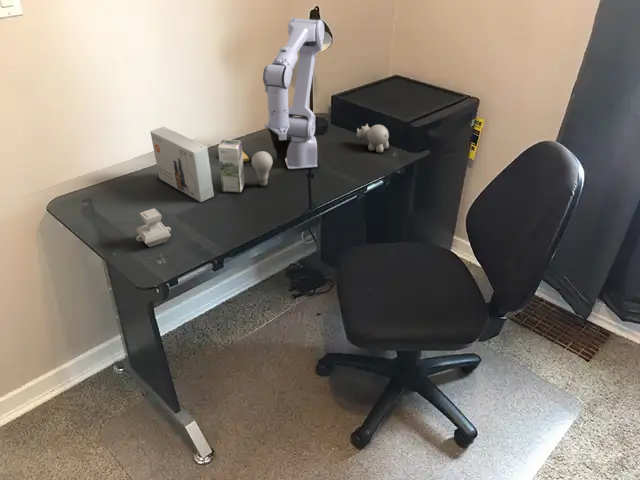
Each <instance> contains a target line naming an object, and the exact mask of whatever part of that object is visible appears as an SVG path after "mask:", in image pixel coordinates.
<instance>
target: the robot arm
mask: <svg viewBox="0 0 640 480" xmlns="http://www.w3.org/2000/svg"><path fill="white" fill-rule="evenodd" d="M287 35H288V39H287V41H286V44H285V46H282V47H280V48H279V49H278V51H277V53H276V55H275V57H274V59H273V60H272V62H271V63H270V64H267V65H266V66H265V67H264V69H263V73H262V83H263V85H264V91H265V93H266V95H267V96H266V97H267V119H268V120H267V121H268V122H265V123H264V125H263V126H264V128H265V129H267V130H268V132H269V134H270V139H271V142H272V146H273V150H275V153H276V157H277V160H278V161H284V162H285V165H286V167H287V169H288V170H299V169H300V170H301V169H310V168H318V144H317V143H318V142H317V138H316V136H315V132H316V114H315V113H314V112H313V111H312V110H311V109H310V108H309V103H310V96H311V89H312V84H313V83H312V82H313V77H314V70H315V62H316V57H317V53H319V52H321V51H322V49H323V46H324V40H325V39H324V38H325V24H324V22H323V20H322V19H307V18H297V17H291V18H290V19H289V21H288V25H287ZM298 52H299V56H298ZM297 63H298V65H297V72H296V77H295V78H296V79H295V86H294V92H293V93H294V94H293V100H292V105H291V106H289V87H290V86H291V81H292V76H293V70H294V68H295V66H296V64H297Z"/></svg>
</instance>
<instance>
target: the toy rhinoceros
mask: <svg viewBox="0 0 640 480" xmlns="http://www.w3.org/2000/svg"><path fill="white" fill-rule="evenodd" d="M356 137H357V138H358V139H359V140H364V139H365V140H367V141H368V146H367V149H368V150H369V151H373V152H374V151H375V152H376V153H380V154H381V153H383V152H384V150H386V149H388V148H389V147H390V144H389V137H390V133H389V130H388V128H387V127H385V125H383V124H374V125H372V126H371V127H369V124H368V123H366V124H365V126H363V125H361V128H360V129H359V127H357V129H356Z"/></svg>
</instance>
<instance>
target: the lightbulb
mask: <svg viewBox="0 0 640 480" xmlns="http://www.w3.org/2000/svg"><path fill="white" fill-rule="evenodd" d="M273 163H274V161H273V157H272V156H271V154H270V153H269V152H267V151H264V150H261V151H257V152H255V153H254V154H253V155H252V157H251V166H252V168H253V169H254V171H255V172H256V176H257V179H258V185H259V186H261V187H266V186H267V185H268V179H269V174H270V173H269V172H270V170H271V168H272V167H273Z"/></svg>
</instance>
